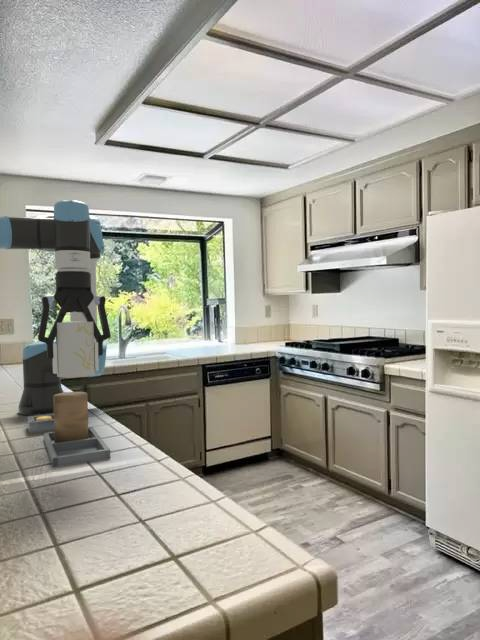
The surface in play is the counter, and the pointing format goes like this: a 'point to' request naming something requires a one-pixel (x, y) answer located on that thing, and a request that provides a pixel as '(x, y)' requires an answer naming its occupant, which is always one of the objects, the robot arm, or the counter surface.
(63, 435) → the ball
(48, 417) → the button
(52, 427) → the grey square holder
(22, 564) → the counter surface
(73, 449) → the grey divided tray
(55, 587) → the counter surface
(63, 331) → the white stubby cylinder
